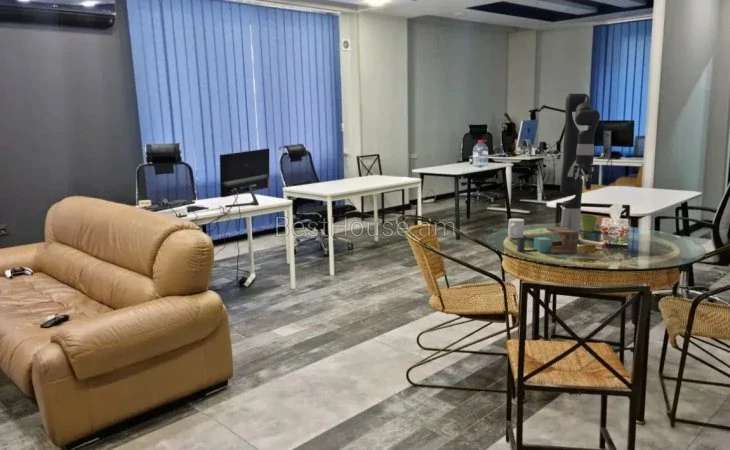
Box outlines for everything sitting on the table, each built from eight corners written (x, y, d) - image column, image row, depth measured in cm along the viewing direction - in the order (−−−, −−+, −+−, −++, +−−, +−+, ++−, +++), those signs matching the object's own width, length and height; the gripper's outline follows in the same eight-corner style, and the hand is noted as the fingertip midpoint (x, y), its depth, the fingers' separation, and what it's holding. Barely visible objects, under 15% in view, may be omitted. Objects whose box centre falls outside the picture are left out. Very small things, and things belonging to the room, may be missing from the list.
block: (515, 250, 269) (516, 236, 268) (544, 249, 272) (545, 235, 271) (521, 253, 264) (521, 238, 262) (551, 251, 266) (552, 237, 265)
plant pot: (575, 230, 321) (576, 215, 319) (589, 229, 323) (590, 214, 322) (586, 233, 312) (587, 217, 310) (600, 232, 315) (601, 216, 313)
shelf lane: (538, 247, 275) (539, 227, 273) (562, 246, 277) (563, 226, 276) (551, 253, 263) (552, 232, 261) (576, 252, 265) (577, 231, 263)
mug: (512, 217, 307) (526, 219, 303) (511, 234, 309) (525, 235, 305) (504, 220, 298) (519, 222, 293) (503, 238, 299) (518, 239, 295)
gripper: (569, 153, 265) (567, 187, 268) (586, 154, 251) (584, 190, 254) (583, 153, 266) (581, 186, 269) (601, 154, 253) (599, 190, 255)
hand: (582, 188), depth 262 cm, fingers open, 8 cm apart
